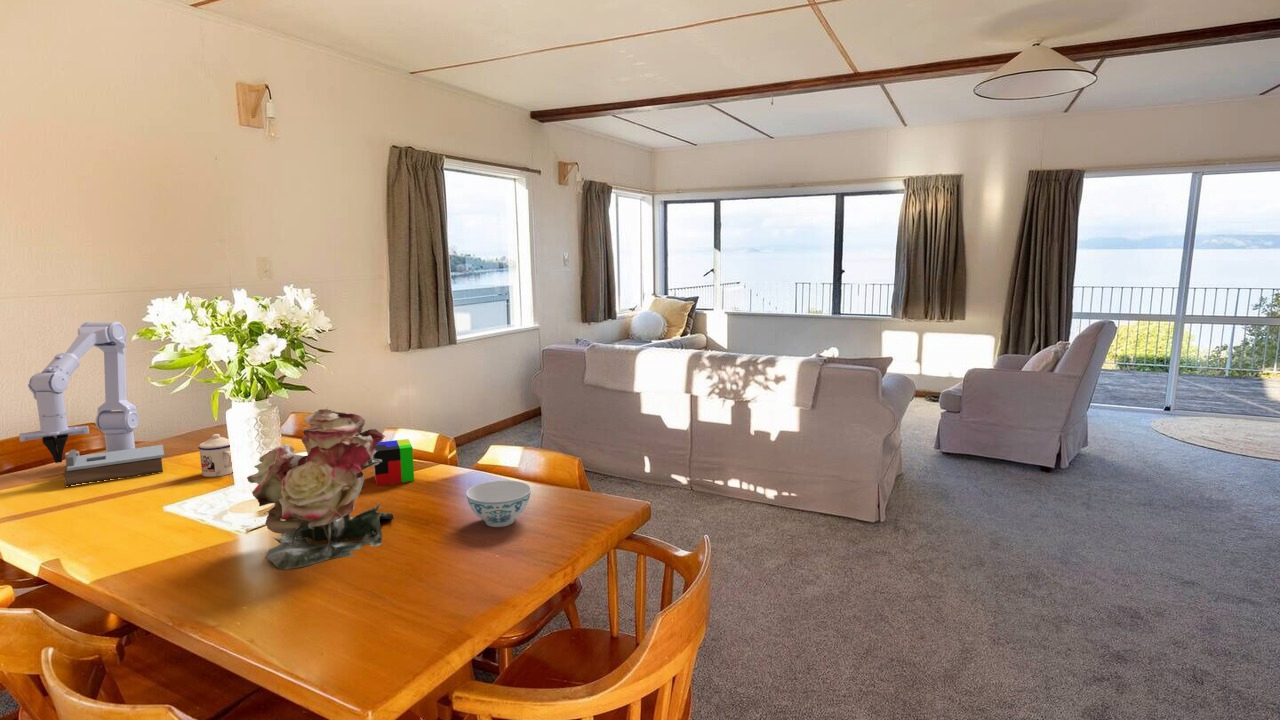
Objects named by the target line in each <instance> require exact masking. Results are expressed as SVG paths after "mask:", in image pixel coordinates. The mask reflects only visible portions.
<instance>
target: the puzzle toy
mask: <svg viewBox="0 0 1280 720" xmlns="http://www.w3.org/2000/svg"><path fill="white" fill-rule="evenodd" d="M374 448H375V449H376V451H377V452H376V453H375V454H374V455H373V456H374V457H373V459H381V460H382V462H380V463H379V464H378V465H374V466H373V474H374V476H375V477H374V480H375V485H376V487H379V485H381V486H386V485H385V484H388V485H393V484H392V483H396V484H401V483H400V482H403V483H407V482H406V481H411V482H415V472H414V471H415V470H414V469H415V468H414V452H413V446H412V443H411V441H410V439H409V438H406V439H405V438H404V439H396V440H394V439H393V440H385V441H381V442H379V443H378V444H377V445H376V446H375V447H374Z"/></svg>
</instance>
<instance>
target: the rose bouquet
mask: <svg viewBox="0 0 1280 720" xmlns="http://www.w3.org/2000/svg"><path fill="white" fill-rule="evenodd" d="M303 421H304V423H305V424H306V425H310V426H306V427H303V428H302V433H303V434H304V435H303V437H302V438H301V443H302V444H303V445H304V447H305V451H306V454H307V455H300V454H296V453H294V450H295V448H294V447H292V446H291V445H290V444H289V443H286V444H284V445H280V446H277V447H275V448H272V449H271V450H269V451H268V452H267V453H265V454H263V455H262V456H260V457H259V459H258V461H259V462H260V463H258V464H255V465H254V468H256V469H257V470H258V472H256V473H255V474H250V475H248V476H247V477H246V479H247V482H249V483H250V484H257V485H256V487H255V488H254V490H252V492H251V494H252V496H253V497H254V498H255V499H256V500H257V502H258V504H259V505H258V507H264V506H266V505H269V504H274V506H273V507H271V509H269V510H267V511H265V512H263V515H265V514H266V513H268V515H267V517H266V519H265V525H266V527H267V530H268V531H271V532H273V533H275V534H280V535H281V537H278V538H277V537H274V539H275V540H277V541H278V542H280V543H281V544H278V545H276V546H274V547H272V548H270V549H268V552H267V554H266V560H267V561H270V562H271V563H273V564H274V566H275V567H276V568H277V569H278V570H280V571H284V570H292V569H298V568H299V569H300V568H302V567H307V566H311V565H314V564H318V563H321V562H324V561H327V560H331V559H332V560H333V559H339V558H346V557H347V558H348V557H355V554H353V553H352V552H356V551H357V550H360V549H362V547H363V546H365V545H370V547H378V546H381V545H382V542H383V541H382V540H383V532H382V528H381V522H380V521H381V520H384V519H390V520H393V521H395V517H394V514H393V513H392V512H391V513H390V512H388V513H386V512H384V511H380V512H377V511H378V509H379V508H380V506H381V505H382V504H383V503H382V502H381V503H378V504H377V505H376V506H374V507H372V508H371V509H367V510H365V511H363V512H361V513H359V514H357V515H355V516H353V517H352V516H351V513H353V512H354V510H355V503H356V501H357V499H358V497H359V495H360V493H361V491H362V487H363V484H364V482H365V476H364V473H363V472H362V471H363V470H365V469H367V468H370V467H374V465H378V464H379V463H380V462H382V460H381V459H373V457H374V456H373V455H374V454H375V453H376V452H377V451H376V449H375V448H374V447H375V446H376V445H377V444H378V443H379V442H384V439H385V438H386V436H385V435H384V434H383V433H382V432H381V431H379V430H378V429H376V428H371V429H368V430H365V431H363V430H364V429H363V428H364V427H365V425H366V422H365V421H366V419H364V418H363V416H361V415H360V414H355V413H345V412H338V411H336V410H333V409H328V408H324V409H323V408H322V409H321V408H320V409H319V408H318V409H315V411H314V412H313V413H311V414H307V415H306V416H305V418H304V419H303ZM281 519H282V520H281ZM305 538H306V539H305ZM307 538H308V539H312V541H313V542H323V541H324V542H326V541H327V542H328V543H317V544H316V543H310V542H308V540H307ZM351 539H352V540H353V539H354V541H345V540H351ZM355 539H361V540H355Z"/></svg>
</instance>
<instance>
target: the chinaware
mask: <svg viewBox="0 0 1280 720" xmlns="http://www.w3.org/2000/svg"><path fill="white" fill-rule="evenodd" d="M531 492H532V487H531V486H530V485H529V484H527V483H525V482H522V481H517V480H494V481H486V482H482V483H479V484H477V485H473V486H471V487H470V488H468V489H467V490H466V493H465V494H466V499H467V502H468V505H469V507H470V509H471V511H472V512H473V514H474V515H476V517H478V518H479V519H481V520H483V521H485V522H484V523H485V525H487V526H489V527H491V528H502V527H507V526H510V525H511V524H512V525H513V523H514V522H515V519H516V518H517V517H519V516H520V515H521V514H522V512H523V511H524V510H525V509H526V507H527V506H528V503H529V500H530V496H531Z"/></svg>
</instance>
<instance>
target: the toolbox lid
mask: <svg viewBox="0 0 1280 720" xmlns="http://www.w3.org/2000/svg"><path fill="white" fill-rule="evenodd" d="M76 451H77V449H70V450H69V451H68V452H69V454H68V457H67V460H68V466H67V471H71V470H78V469H85V468H92V467H99V466H106V465H113V464H120V463H127V462H134V461H141V460H148V459H155V458H161V459H162V458H165V451H164V444H157V445H151V446H143V447H135V448H134V449H127V450H119V451H112V452H107V451H106V452H98V453H90V454H84V455H80V456H76ZM105 458H106V459H105ZM98 459H103V460H98ZM91 460H96V461H91ZM87 461H88V462H87Z"/></svg>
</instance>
